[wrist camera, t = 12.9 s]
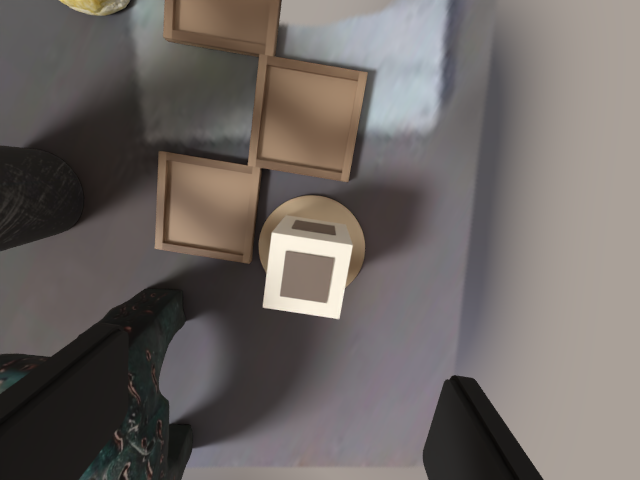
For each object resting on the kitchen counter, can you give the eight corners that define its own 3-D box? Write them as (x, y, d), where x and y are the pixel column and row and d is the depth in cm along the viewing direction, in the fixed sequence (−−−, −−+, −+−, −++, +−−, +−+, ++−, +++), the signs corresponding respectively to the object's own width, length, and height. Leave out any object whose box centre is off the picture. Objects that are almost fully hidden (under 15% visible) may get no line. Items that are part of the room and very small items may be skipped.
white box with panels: (286, 213, 26) (271, 231, 19) (345, 223, 26) (353, 243, 19) (278, 271, 27) (262, 308, 20) (335, 280, 27) (339, 319, 20)
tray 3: (261, 57, 24) (259, 53, 23) (366, 75, 24) (367, 72, 23) (250, 165, 25) (247, 165, 25) (347, 181, 26) (348, 182, 25)
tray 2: (163, 151, 25) (158, 150, 25) (262, 167, 25) (260, 167, 25) (159, 246, 27) (154, 248, 26) (251, 260, 27) (249, 263, 27)
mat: (266, 187, 26) (265, 187, 25) (374, 204, 26) (374, 205, 26) (254, 288, 28) (253, 290, 27) (354, 304, 28) (354, 305, 28)
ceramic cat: (131, 269, 28) (-326, 511, 8) (204, 272, 28) (-84, 524, 8) (151, 452, 32) (-114, 887, 13) (213, 455, 32) (42, 896, 13)
